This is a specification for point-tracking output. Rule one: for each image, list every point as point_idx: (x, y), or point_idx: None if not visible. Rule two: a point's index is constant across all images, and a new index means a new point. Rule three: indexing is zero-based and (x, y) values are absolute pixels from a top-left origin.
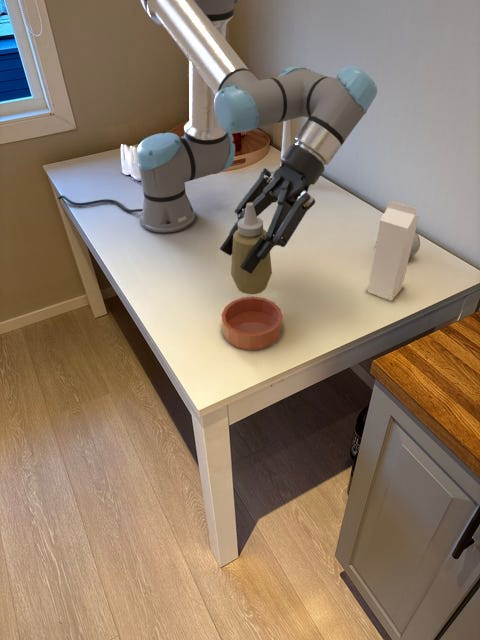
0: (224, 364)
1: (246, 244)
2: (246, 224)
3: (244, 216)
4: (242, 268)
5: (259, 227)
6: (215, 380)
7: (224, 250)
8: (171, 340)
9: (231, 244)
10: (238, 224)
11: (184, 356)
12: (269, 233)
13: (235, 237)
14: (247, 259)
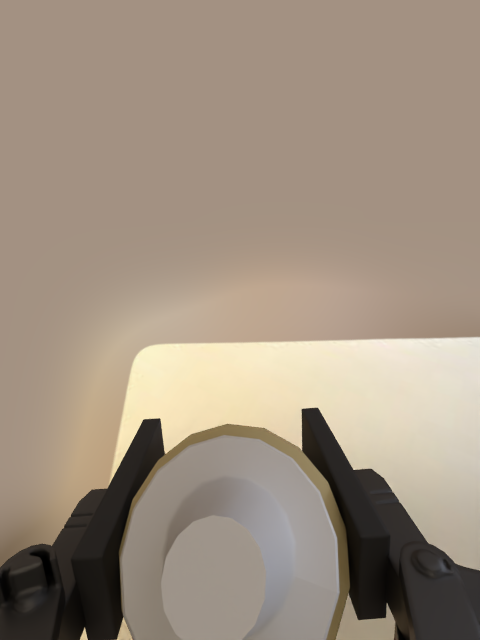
0: (186, 415)
1: (162, 457)
2: (202, 485)
3: (240, 488)
4: (143, 421)
5: (122, 584)
6: (164, 385)
7: (303, 424)
8: (289, 361)
9: (314, 460)
10: (252, 441)
11: (241, 364)
12: (21, 633)
13: (249, 432)
14: (137, 445)
